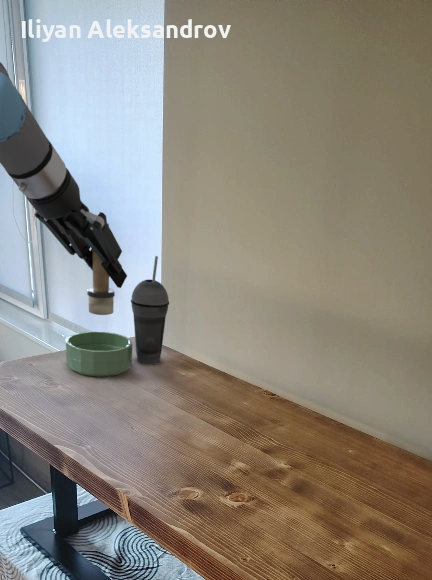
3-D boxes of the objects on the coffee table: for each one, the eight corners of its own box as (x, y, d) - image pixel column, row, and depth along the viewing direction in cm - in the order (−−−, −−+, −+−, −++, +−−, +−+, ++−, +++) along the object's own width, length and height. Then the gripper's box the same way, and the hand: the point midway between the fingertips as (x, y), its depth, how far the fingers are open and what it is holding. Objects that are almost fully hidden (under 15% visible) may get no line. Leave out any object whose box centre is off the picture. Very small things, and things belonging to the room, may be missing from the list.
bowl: (56, 372, 114) (55, 346, 112) (81, 353, 124) (80, 328, 122) (119, 381, 113) (119, 355, 110) (139, 361, 123) (139, 336, 121)
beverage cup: (144, 352, 128) (147, 249, 118) (174, 360, 125) (178, 256, 115) (122, 360, 123) (122, 254, 113) (152, 369, 120) (155, 260, 110)
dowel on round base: (83, 313, 111) (81, 223, 104) (93, 306, 116) (92, 220, 108) (109, 316, 111) (109, 226, 103) (118, 310, 115) (118, 223, 108)
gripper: (-6, 194, 95) (71, 288, 116) (75, 209, 89) (141, 305, 110) (17, 156, 96) (89, 255, 118) (99, 167, 90) (159, 270, 111)
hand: (114, 279), depth 114 cm, fingers closed on dowel on round base, 3 cm apart
